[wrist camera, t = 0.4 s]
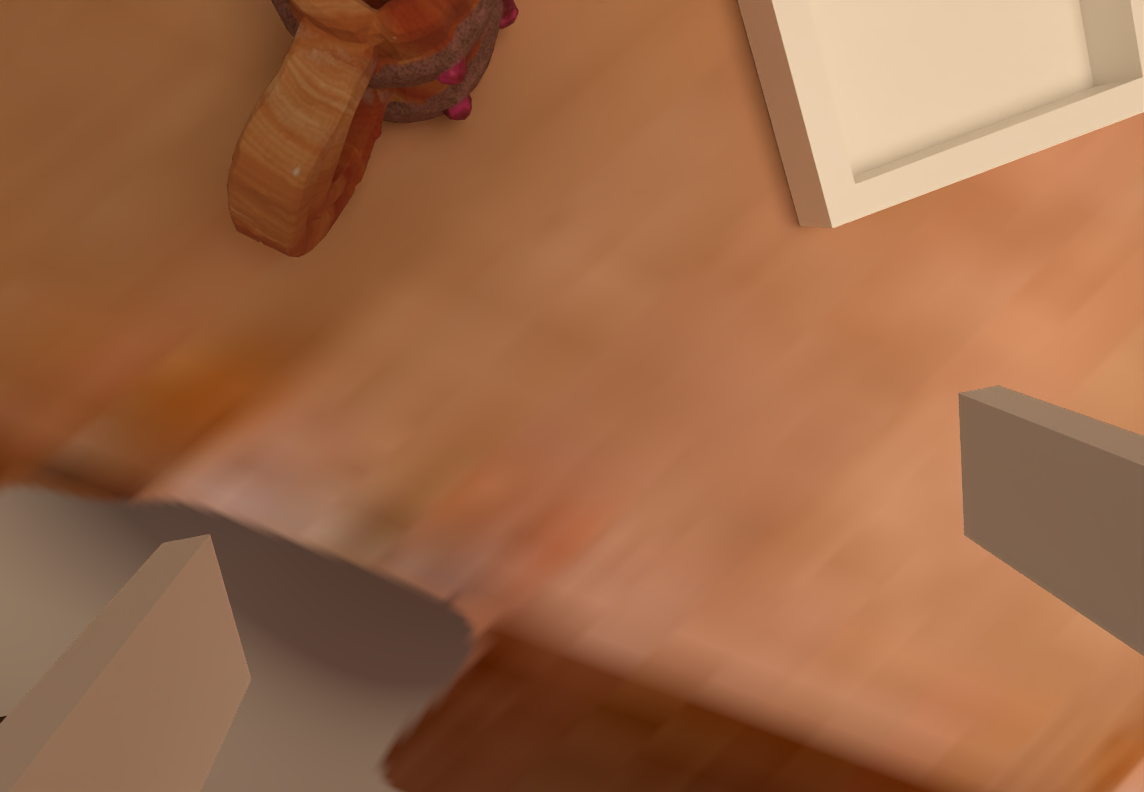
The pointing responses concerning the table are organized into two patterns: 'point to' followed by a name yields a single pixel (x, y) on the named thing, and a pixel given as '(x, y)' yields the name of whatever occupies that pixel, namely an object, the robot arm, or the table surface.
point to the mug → (350, 103)
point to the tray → (933, 89)
